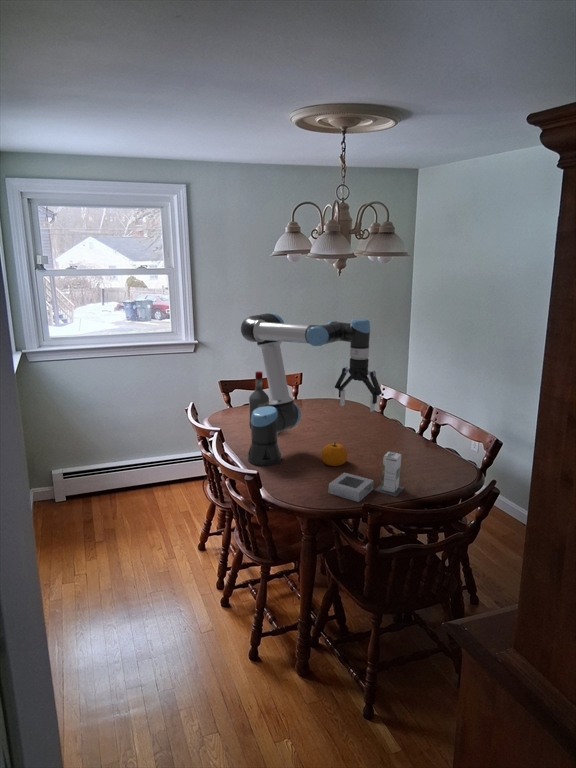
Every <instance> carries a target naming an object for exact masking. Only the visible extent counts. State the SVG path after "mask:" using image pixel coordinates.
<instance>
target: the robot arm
mask: <svg viewBox="0 0 576 768" xmlns="http://www.w3.org/2000/svg"><path fill="white" fill-rule="evenodd" d="M240 333H241V336H242V337H243V338H244V339H245V340H246V341H248V342H250V343H257V346H258V347H259V348H260V349H261V353H262V357H263V362H264V370H265V373H266V379H267V385H268V390H269V396H270V400H269V406H265V407H259V408H257V409H255V410H254V411H253V412H252V416H251V428H250V429H251V431H250V433H251V435H250V436H251V443H250V447H249V449H248V452H247V461H248V463H251V464H253V465H255V466H262V467H263V466H266V467H267V466H272V465H277V464H279V463H280V462H281V461H282V453H281V450H280V447H279V444H278V443H279V442H278V434H279V433H282V432H285V431H287V430H290V429H292V428H294V427H296V426H297V425H298V424H299V422H300V421H301V417H302V412H301V409H300V406H298V404H297V403H296V402H294V401H295V400H294V398H293V397H291V396H290V392H289V386H288V381H287V377H286V371H285V367H284V366H285V365H284V360H283V359H284V358H283V355H282V354H283V353H282V351H281V350H282V349H281V344H282V342H286V343H298V344H310V345H311V346H312V347H320V346H323V345H327V344H331V343H336V342H348V343H350V345H349V346H350V350H349V356H350V358H349V368H348V367H347V366H345V367H342V368H341V369H342V370H341V374H340V375H339V377H338V379H337V381H336V383H335V385H334V389H336V390H338V398H340V401H339V402H340V403H339V406H340V407H343V406H345V404H346V403H345V402H346V389H345V388H346V387H347V386H348V385H349V384H350V382H351V381H352V380H353V381H359V382H361V381H362V383H363V384H364V385H365V386H366V387H367V389H368V390H369V392H370V394H371V395H370V401H369V404H370V406H369V407H370V408H369V412H370V413H372V412H374V411H375V406H376V404H378V396H379V397H380V396H381V395H382V394H383V391H382V389H381V385H380V384H379V381H378V379H377V376H376V375H377V374H376V371H375V370H373V371H369V360H370V359H369V357H370V354H369V353H370V337H371V336H370V335H371V322H370V320H369V319H367V318H353V319H351V321H350V323H348V322H340V321H335V320H334V321H331V320H330V321H328V322H327V321H326V323H325V324H323V325H319V324H303V323H302V324H299V323H285V322H284V320H283V318H282V317H281V316H280V315H279V314H276V313H270V312H269V313H261V314H256V315H249V316H248V317H246V318H245V319H243V321H242V323H241V326H240ZM347 373H349V376H348V377H347V379H346V380H345V381H344V379H345V377H346V376H347ZM368 376H369V377H368ZM370 380H371V381H370ZM343 381H344V382H343Z"/></svg>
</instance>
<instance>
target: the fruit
mask: <svg viewBox="0 0 576 768" xmlns="http://www.w3.org/2000/svg"><path fill="white" fill-rule="evenodd" d="M347 451H348V450H347V449H346V448H345V447H344V446H343V445H342V444H340V443H336V441H334V442H333V443H328V444H326V445H325V446H324V447H323V449H322V450H321V453H320V456H321V460H322V462H323V463H324V464H325V465H327V466H332V467H339V466H341V465H343V464H345V463H346V461H347V460H348V457H349V455H348V452H347Z"/></svg>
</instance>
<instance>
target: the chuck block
mask: <svg viewBox="0 0 576 768" xmlns="http://www.w3.org/2000/svg"><path fill="white" fill-rule="evenodd" d="M374 482H375V481H374V479H370V478H366V477H363V476H359V475H356V474H355V475H354V474H351V473H347V472H343V473H341V474H340V475H339V476H338V477H336V478H334V479H333V480H331V482H329V483H328V494H329V495H332V494H333V496H337V497H339V498H344V499H347V500H350V501H353V502H356V503H357V502H358V503H360V501H362V500H363V499H364V498H365V497H366V496H368V494H369V493H371V492H372V491H373V490H374Z"/></svg>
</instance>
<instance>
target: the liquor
mask: <svg viewBox="0 0 576 768" xmlns="http://www.w3.org/2000/svg"><path fill="white" fill-rule="evenodd" d="M254 374H255V378H254V379H255V389H254V390H253V392H252V393H251V394H250V395H249V397H248V402H249V403H248V409H249V410H248V413H249V417H248V418H249V422H248V423H249V425H248V426H249V427H250V428H249V429H251V416H252V412H253V411H254V410H255V409H257V408H259V407H265V406H269V402H270V397H269V395H268V394H267V393H266V392H265V391H264V389H263V376H264V375H263V371H255V373H254Z"/></svg>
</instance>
